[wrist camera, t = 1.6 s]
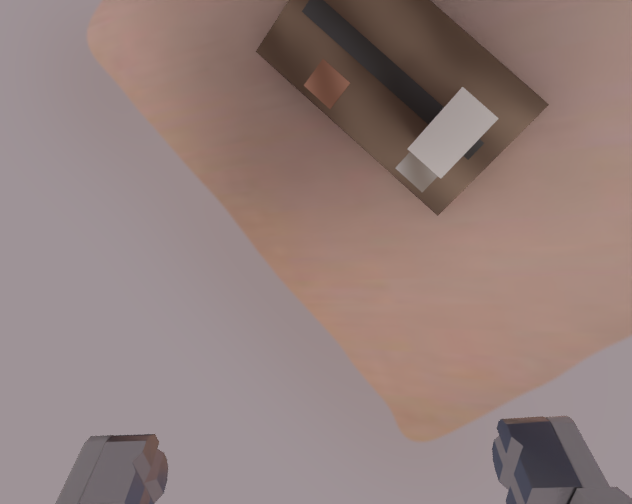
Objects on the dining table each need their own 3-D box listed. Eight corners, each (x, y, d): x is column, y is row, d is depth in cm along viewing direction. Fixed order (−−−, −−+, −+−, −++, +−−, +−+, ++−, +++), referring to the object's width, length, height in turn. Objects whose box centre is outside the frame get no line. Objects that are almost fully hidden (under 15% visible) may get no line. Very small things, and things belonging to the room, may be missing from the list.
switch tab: (462, 94, 36) (462, 86, 28) (490, 119, 36) (498, 118, 28) (419, 143, 38) (407, 148, 30) (445, 166, 38) (440, 178, 30)
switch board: (344, -72, 37) (339, -79, 36) (545, 105, 36) (549, 104, 35) (262, 53, 42) (255, 51, 40) (438, 212, 41) (437, 215, 39)
